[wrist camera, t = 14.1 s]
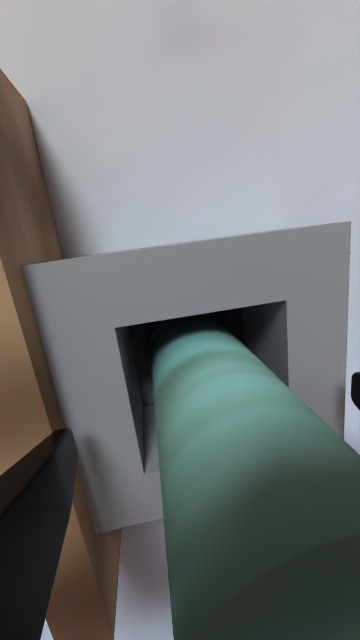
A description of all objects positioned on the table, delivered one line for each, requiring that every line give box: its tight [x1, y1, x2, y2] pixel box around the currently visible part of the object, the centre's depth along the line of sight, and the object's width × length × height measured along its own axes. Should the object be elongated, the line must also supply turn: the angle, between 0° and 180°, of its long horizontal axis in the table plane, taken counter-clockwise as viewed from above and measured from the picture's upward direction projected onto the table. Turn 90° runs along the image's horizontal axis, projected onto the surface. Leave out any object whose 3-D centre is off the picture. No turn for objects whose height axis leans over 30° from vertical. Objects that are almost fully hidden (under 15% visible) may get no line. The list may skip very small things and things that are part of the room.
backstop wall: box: [0, 69, 121, 640], centre depth 11 cm, size 20×2×6 cm, turn 7°
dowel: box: [149, 313, 360, 640], centre depth 9 cm, size 4×4×11 cm
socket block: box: [21, 221, 351, 534], centre depth 12 cm, size 10×10×4 cm
